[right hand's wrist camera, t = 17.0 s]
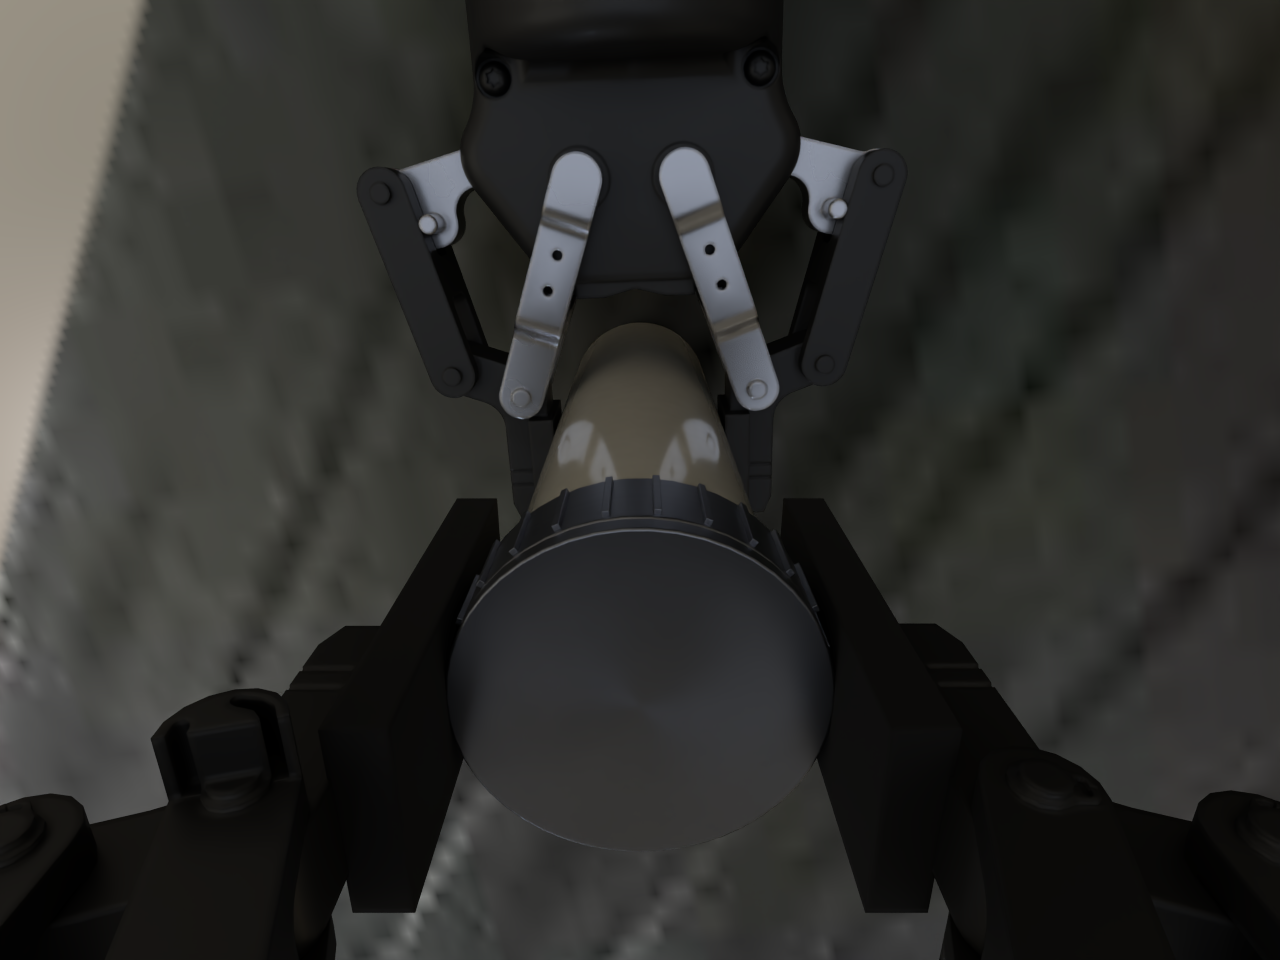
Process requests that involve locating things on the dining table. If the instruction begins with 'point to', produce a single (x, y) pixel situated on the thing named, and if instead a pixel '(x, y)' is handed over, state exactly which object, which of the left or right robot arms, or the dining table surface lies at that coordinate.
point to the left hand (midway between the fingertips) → (644, 521)
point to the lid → (640, 667)
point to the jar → (639, 419)
